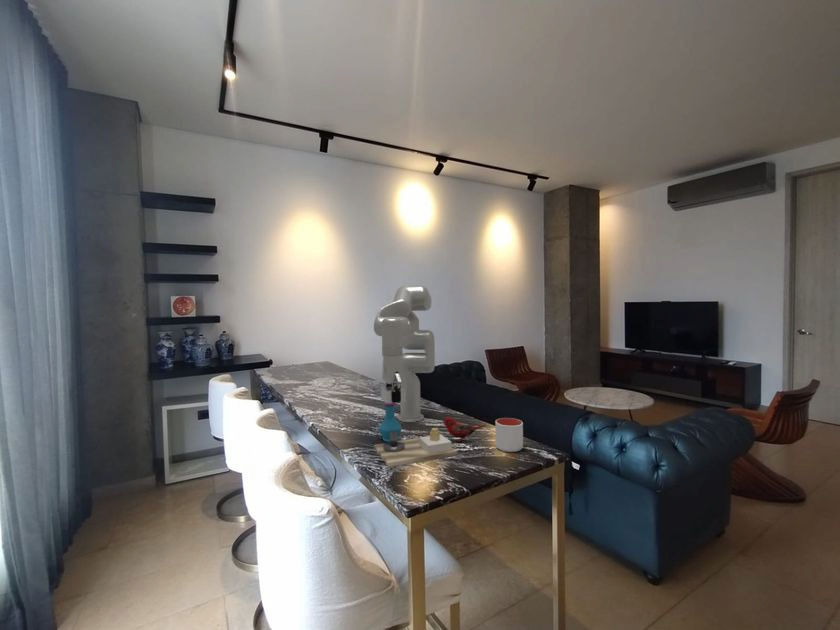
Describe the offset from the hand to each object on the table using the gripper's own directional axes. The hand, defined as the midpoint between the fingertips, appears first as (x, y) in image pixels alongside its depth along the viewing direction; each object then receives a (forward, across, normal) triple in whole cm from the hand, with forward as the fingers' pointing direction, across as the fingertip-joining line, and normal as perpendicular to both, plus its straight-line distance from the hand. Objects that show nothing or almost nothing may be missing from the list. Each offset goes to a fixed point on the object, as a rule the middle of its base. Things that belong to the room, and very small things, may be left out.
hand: (393, 399), depth 140 cm
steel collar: (0, 0, 0) cm, 0 cm away
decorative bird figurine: (+20, +1, +29) cm, 35 cm away
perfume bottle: (+20, -14, +3) cm, 24 cm away
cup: (+20, +14, +41) cm, 48 cm away
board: (+20, +3, +7) cm, 21 cm away
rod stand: (+18, 0, 0) cm, 18 cm away
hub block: (+18, +6, +14) cm, 24 cm away
